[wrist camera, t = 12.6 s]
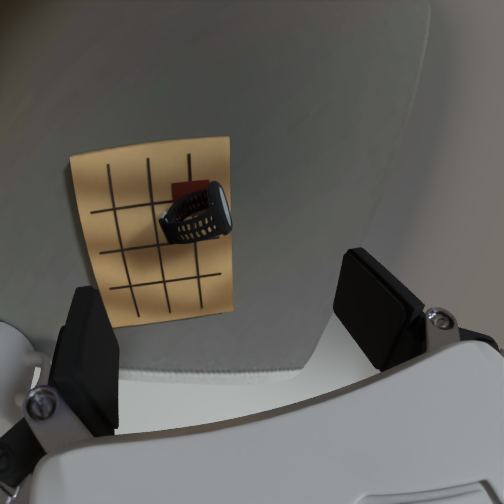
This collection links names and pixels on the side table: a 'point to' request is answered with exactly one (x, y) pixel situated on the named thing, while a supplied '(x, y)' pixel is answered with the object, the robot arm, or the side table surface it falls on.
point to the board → (153, 229)
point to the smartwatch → (215, 209)
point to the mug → (17, 374)
